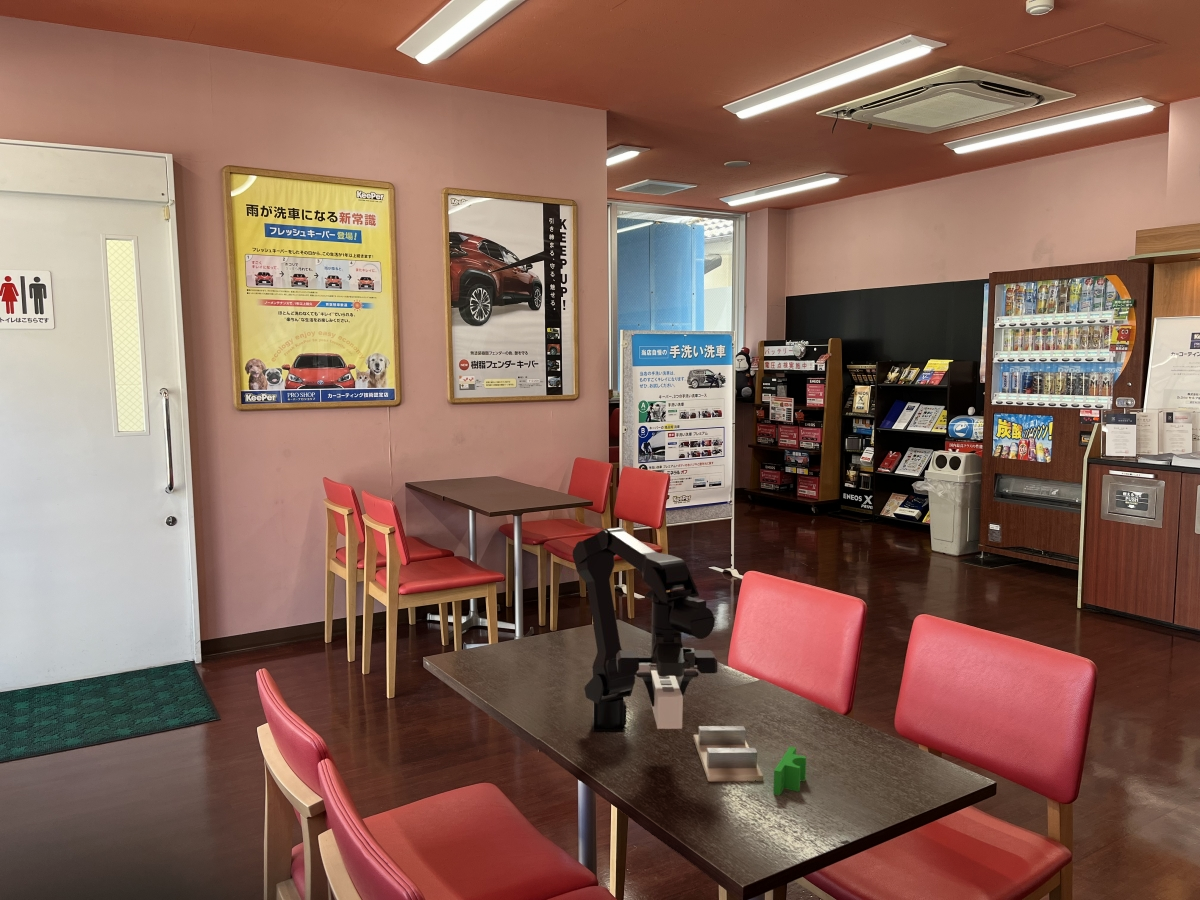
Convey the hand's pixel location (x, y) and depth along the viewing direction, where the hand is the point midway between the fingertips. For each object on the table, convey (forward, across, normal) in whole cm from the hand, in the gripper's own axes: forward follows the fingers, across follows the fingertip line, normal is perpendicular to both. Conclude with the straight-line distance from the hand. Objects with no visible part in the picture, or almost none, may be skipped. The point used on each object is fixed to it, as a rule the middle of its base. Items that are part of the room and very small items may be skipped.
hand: (665, 705), depth 160 cm
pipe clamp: (+11, +22, -10) cm, 26 cm away
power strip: (+2, 0, 0) cm, 2 cm away
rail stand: (+11, +12, 0) cm, 16 cm away
